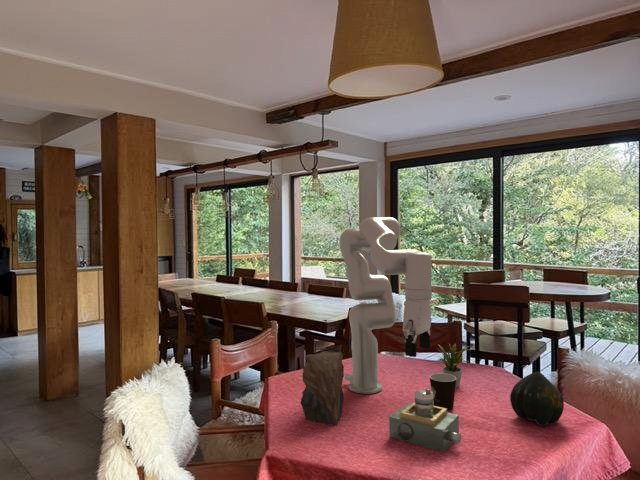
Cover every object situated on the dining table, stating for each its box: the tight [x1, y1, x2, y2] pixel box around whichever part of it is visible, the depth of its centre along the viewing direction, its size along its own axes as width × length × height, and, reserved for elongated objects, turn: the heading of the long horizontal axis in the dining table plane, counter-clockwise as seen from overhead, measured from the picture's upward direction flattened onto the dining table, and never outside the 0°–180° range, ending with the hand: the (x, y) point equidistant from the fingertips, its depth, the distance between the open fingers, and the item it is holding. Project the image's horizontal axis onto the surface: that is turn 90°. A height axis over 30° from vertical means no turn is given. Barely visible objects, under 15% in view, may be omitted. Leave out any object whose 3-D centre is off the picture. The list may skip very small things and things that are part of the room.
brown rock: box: [300, 350, 345, 426], centre depth 148 cm, size 13×13×20 cm
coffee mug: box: [429, 372, 456, 412], centre depth 154 cm, size 12×9×10 cm
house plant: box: [436, 342, 472, 389], centre depth 172 cm, size 14×14×16 cm
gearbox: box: [388, 401, 462, 453], centre depth 131 cm, size 19×13×8 cm, turn 54°
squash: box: [509, 370, 565, 427], centre depth 142 cm, size 14×15×15 cm
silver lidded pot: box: [414, 388, 434, 418], centre depth 132 cm, size 5×5×8 cm
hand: (418, 351), depth 135 cm, fingers open, 9 cm apart
